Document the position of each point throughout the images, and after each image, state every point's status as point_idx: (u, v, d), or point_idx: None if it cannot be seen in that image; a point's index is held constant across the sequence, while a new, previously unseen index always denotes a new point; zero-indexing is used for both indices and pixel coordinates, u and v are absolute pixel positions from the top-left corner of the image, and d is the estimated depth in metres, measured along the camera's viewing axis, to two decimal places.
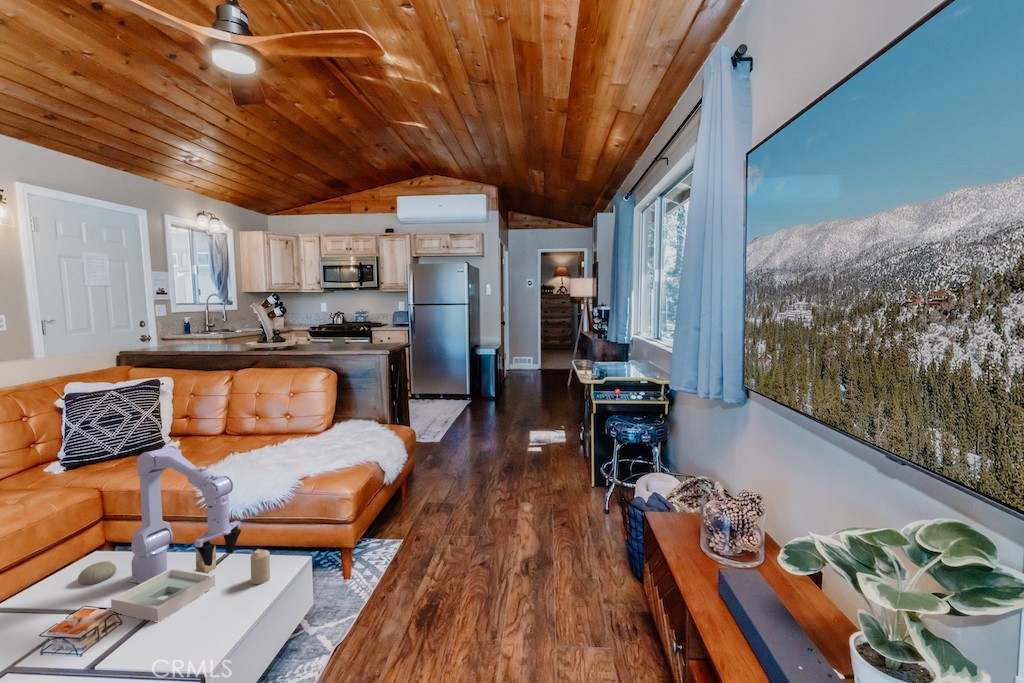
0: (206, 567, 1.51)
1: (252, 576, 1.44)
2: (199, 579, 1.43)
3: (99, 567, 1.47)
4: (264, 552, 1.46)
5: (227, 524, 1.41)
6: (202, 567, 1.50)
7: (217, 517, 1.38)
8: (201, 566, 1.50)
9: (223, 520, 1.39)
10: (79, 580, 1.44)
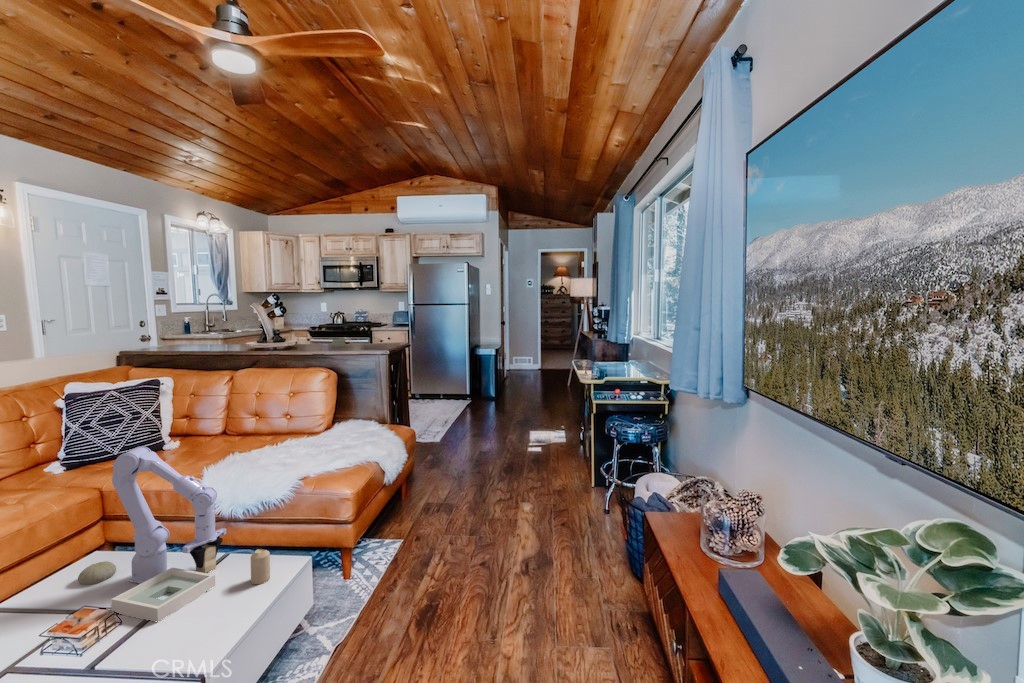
0: (206, 567, 1.51)
1: (252, 576, 1.44)
2: (199, 579, 1.43)
3: (99, 567, 1.47)
4: (264, 552, 1.46)
5: (213, 532, 1.52)
6: (202, 567, 1.50)
7: (209, 524, 1.51)
8: None
9: (209, 528, 1.51)
10: (79, 580, 1.44)
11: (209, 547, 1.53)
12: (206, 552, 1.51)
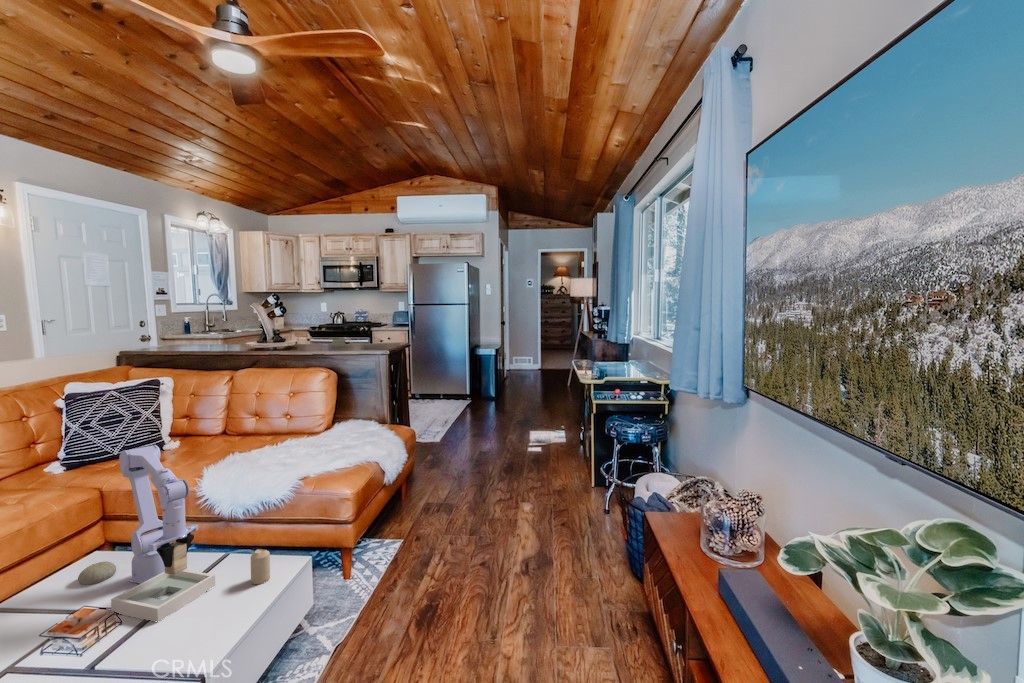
0: (176, 567, 1.38)
1: (252, 576, 1.44)
2: (199, 579, 1.43)
3: (99, 567, 1.47)
4: (264, 552, 1.46)
5: (183, 528, 1.40)
6: (171, 566, 1.38)
7: (169, 521, 1.37)
8: None
9: (179, 524, 1.38)
10: (79, 580, 1.44)
11: (179, 545, 1.40)
12: (175, 550, 1.38)
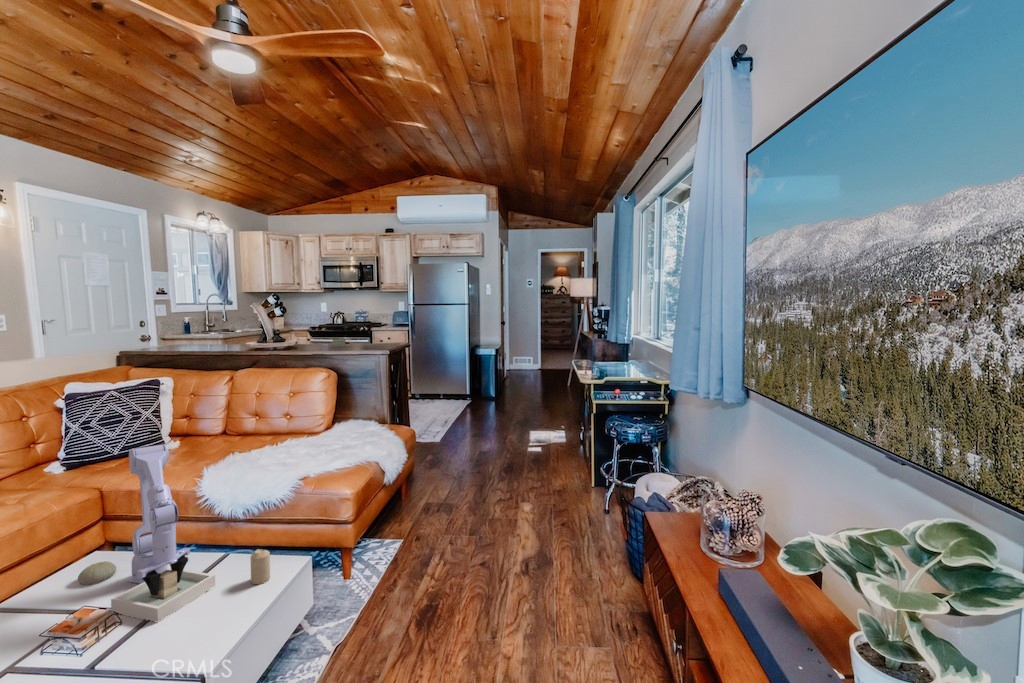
0: (165, 596, 1.34)
1: (252, 576, 1.44)
2: (199, 579, 1.43)
3: (99, 567, 1.47)
4: (264, 552, 1.46)
5: (173, 552, 1.36)
6: (161, 596, 1.34)
7: (157, 546, 1.33)
8: (160, 595, 1.34)
9: (169, 549, 1.35)
10: (79, 580, 1.44)
11: (169, 573, 1.36)
12: (165, 579, 1.34)
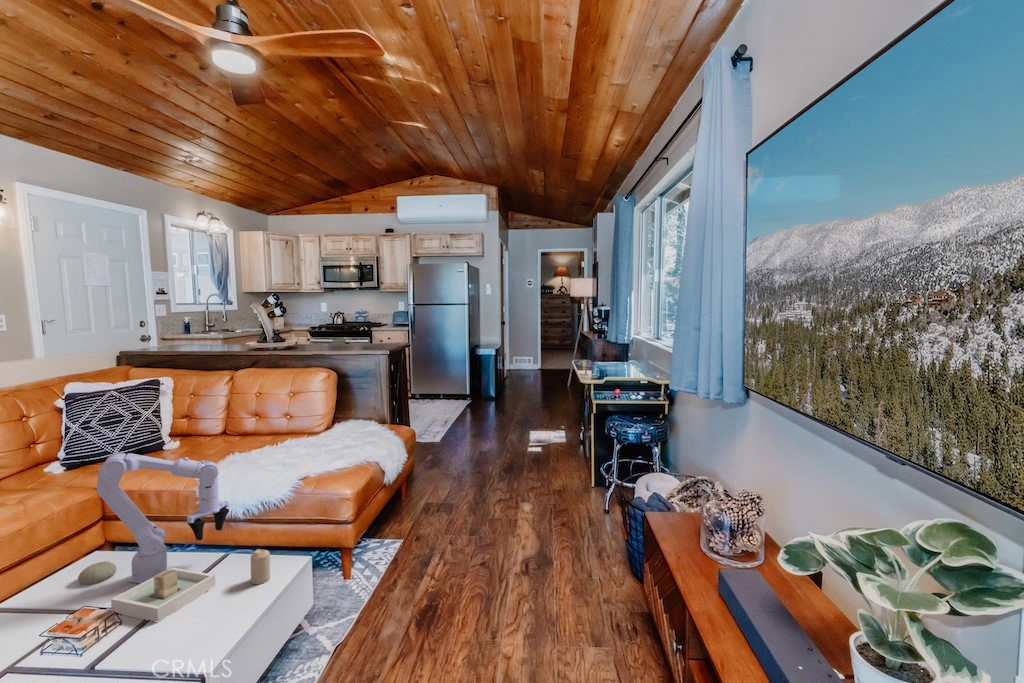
0: (165, 596, 1.34)
1: (252, 576, 1.44)
2: (199, 579, 1.43)
3: (99, 567, 1.47)
4: (264, 552, 1.46)
5: (216, 503, 1.57)
6: (161, 596, 1.34)
7: (215, 495, 1.56)
8: (160, 595, 1.34)
9: (213, 500, 1.55)
10: (79, 580, 1.44)
11: (169, 573, 1.36)
12: (165, 579, 1.34)
